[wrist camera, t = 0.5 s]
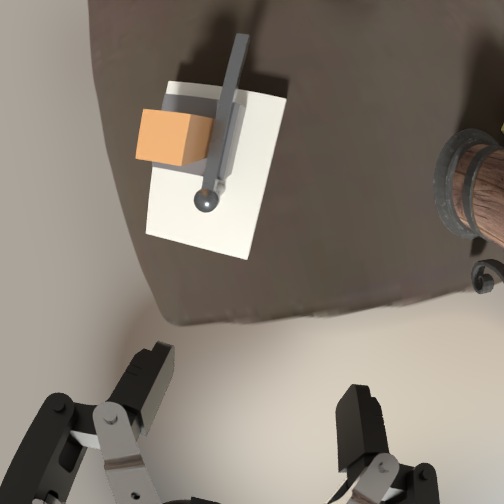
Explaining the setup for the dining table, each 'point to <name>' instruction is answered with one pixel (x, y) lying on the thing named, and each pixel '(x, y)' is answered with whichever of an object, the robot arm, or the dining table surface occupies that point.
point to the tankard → (473, 195)
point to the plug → (184, 134)
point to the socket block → (230, 190)
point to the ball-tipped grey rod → (222, 126)
